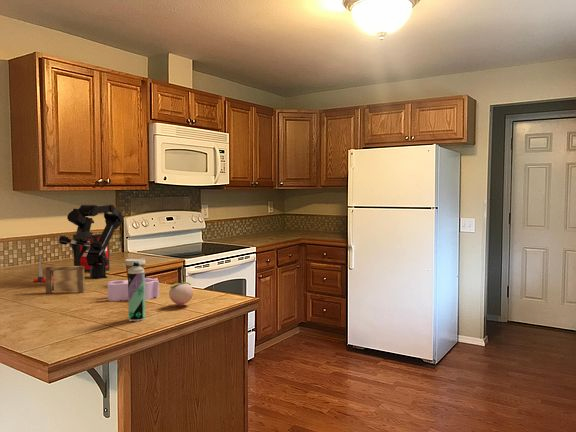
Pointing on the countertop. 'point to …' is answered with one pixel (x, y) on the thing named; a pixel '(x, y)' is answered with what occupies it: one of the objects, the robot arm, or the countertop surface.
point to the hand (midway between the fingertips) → (76, 260)
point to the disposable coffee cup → (130, 263)
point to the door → (65, 280)
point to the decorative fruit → (181, 293)
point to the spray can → (136, 292)
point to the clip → (120, 289)
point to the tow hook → (40, 273)
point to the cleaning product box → (83, 259)
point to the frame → (49, 269)
